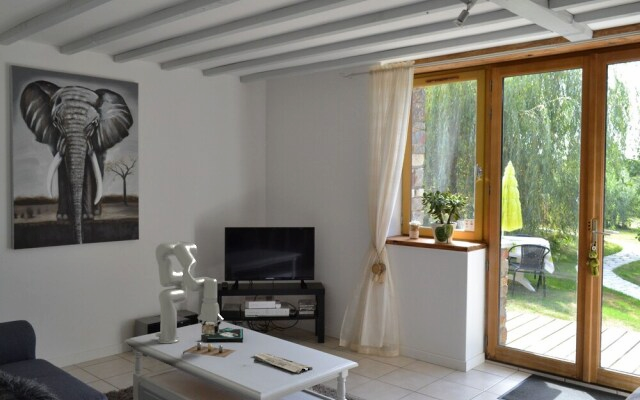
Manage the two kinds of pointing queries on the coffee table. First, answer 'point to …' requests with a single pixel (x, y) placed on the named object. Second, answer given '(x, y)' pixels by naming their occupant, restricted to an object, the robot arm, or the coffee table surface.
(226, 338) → the wall plaque
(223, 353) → the board
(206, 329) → the frame
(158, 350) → the coffee table surface
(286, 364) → the newspaper
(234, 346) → the coffee table surface
